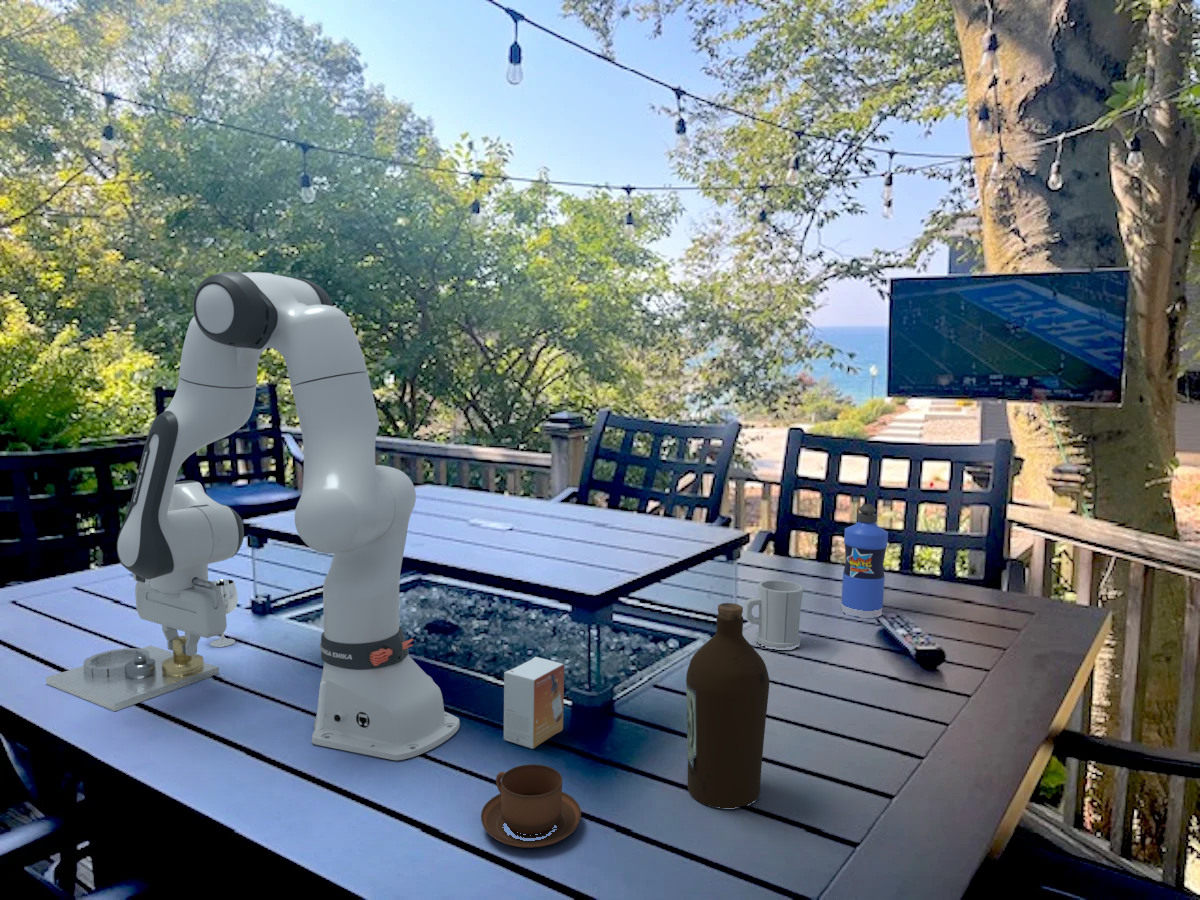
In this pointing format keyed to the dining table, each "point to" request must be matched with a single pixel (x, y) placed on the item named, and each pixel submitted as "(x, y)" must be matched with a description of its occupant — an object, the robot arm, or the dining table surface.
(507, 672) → the small box
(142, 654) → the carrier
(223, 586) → the wineglass
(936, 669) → the dining table surface
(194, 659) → the brass flanged cylinder
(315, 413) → the robot arm
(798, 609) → the cup
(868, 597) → the water bottle
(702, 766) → the olive oil
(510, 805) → the cup and saucer
